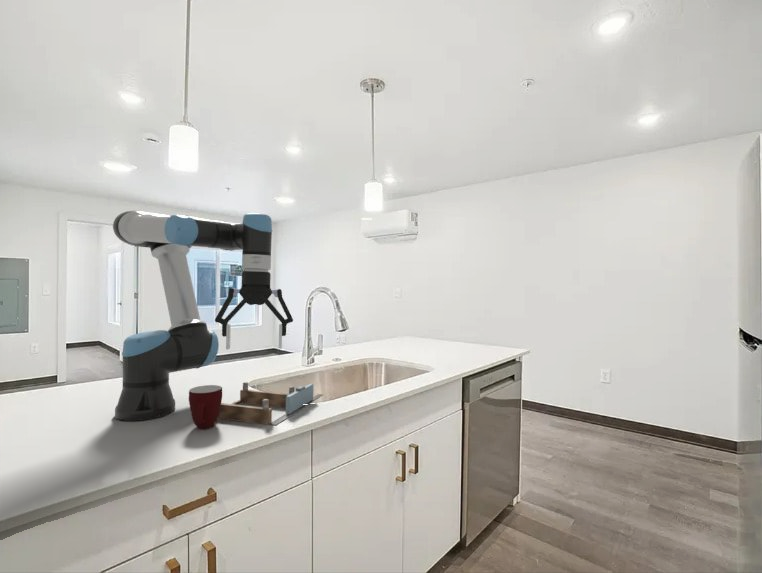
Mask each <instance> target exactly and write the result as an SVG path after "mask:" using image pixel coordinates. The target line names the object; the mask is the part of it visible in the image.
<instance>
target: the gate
mask: <svg viewBox="0 0 762 573" xmlns="http://www.w3.org/2000/svg"><path fill="white" fill-rule="evenodd" d="M313 397H314V383H309V384H307V385H299V386H297V387H295V390H294V392H293V393H291V394H290V395H288V396H286V408H285V414H290V413H292V412H294V411H295V410H297V409H298V408H300V407H302V406H303V404H306V403H308V402H310V401H311V400H313Z"/></svg>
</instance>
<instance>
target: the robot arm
mask: <svg viewBox="0 0 762 573" xmlns="http://www.w3.org/2000/svg"><path fill="white" fill-rule="evenodd" d="M242 217H243V218H242V222H240V223H239V222H238V223H233V222H226V221H221V220H214V219H213V220H212V219H205V218H199V217H195V216H189V215H184V214H180V215H179V214H172V215H169V214H161V213H155V212H148V211H143V210H128V211H127V210H126V211H124V212H121V213H120V214H118V215H117V216H116V217H115V219H114V220H113V222H112V223H113V224H112V228H113V229H112V230H113V232H114V234H115V236H116V238H117V239H119V240H120V241H121V242H123V243H125V244H128V245H130V246H132V247H133V246H134V247H138V248H139V247H140V248H141V247H142V248H148V249H150V252H151V253H150V254H151V256H152V257H153V258H155V259H157V262H158V266H159V271H160V275H161V276H160V277H161V281H162V286H163V290H164V296H165V300H166V305H167V312H168V315H169V319H170V323H171V324H170V325H171V326H170V327H169V329H167V330H166V329H165V330H164V329H163V330H161V329H160V330H150V331H143V332H139V333H134V334H131V335H129V336H128V337H126V338H125V339H124V341H123V345H122V346H123V347H122V352H121V356H122V387H121V388H122V389H121V393H120V396H119V398H118V401H117V405H116V406H115V409H114V418H115V419H116V420H119V421H123V422H125V421H126V422H137V421H138V422H139V421H144V420H145V421H146V420H152V419H157V418H160V417H163V416H166V415H169V414H171V413H173V412H175V410H176V400H175V398H174V396H173V393H172V389H171V386H170V373H177V372H182V371H186V370H187V371H188V370H193V369H200V368H203V367H208V366H209V365H212V364H213V363H214V361H215V359H217V355H218V353H219V346H220V344H219V338H218V335H217V333H216V332H215V331H213V330H210V329H208V326H207V322H206V321H203V320H201V316H200V312H199V308H198V303H197V298H196V296H195V294H196V293H195V290H194V285H193V281H192V277H191V271H190V267H189V264H188V258H187V255H188V254H189V253H190V250H191V248H192V247H201V248H210V249H211V248H212V249H220V250H223V251H230V252H233V251H237V250H238V251H239V250H240V251H241V250H242V253H241V254H242V256H241V258H242V259H241V269H242V270H243V271H242V272H241V288H240V289H239V288H234V287H231V288H229V289H228V294H227V296H226V299H225V301H224V303H223V305H222V306H221V308H220V310H219V311H218V313H217V315H216V317H215V319H214V322H215V323H219V324H221V336H222V337H225V342H226V343H225V350H230V349H231V326H232V325H231V323H229V322H231V320H232V318H233V317H235V316H236V315H237V313H238V312H239V311H240V310H241V309H242V308H243V307H244V306H245V305H246V304H247V305H249V306H253V305H257V306H262V305H266V306H267V308H268V309H269V310H270V311H271V313H272V314H274V316H276V318H277V319H278V320H279V322H280V323H278V324H279V325H278V349H282V347H283V346H282V345H283V344H282V343H283V339H282V338H283V337H286V335H287V325H288V324H290V323H292V322H294V319H293V317H292V315H291V313H290V310H289V309H288V305H287V304H286V302H285V300H284V298H283V293H282V292H283V291H282V289H281V288H278V289H272V288H271V279H272V278H271V277H272V275H271V273H270V272H269V271H271V269H272V268H271V267H272V256H271V255H272V238H273V236H272V235H273V234H272V233H273V226H272V225H273V224H272V223H273V222H272V217H271V216H270V215H268V214H265V213H257V212H256V213H255V212H251V213H250V212H249V213H245V214H244V215H243V216H242ZM238 294H239V295H240V296H241V298H242V300H241V301H239V303H237V305H236V306H235V307H234V309H233V310H231V312H230V313H228V315H227V316H226V317H225V318H223V317H224V315H225V313H226V311H227V310H228V308H229V306H230V304H231V302H232V301H233V298H234V297H236V296H237V295H238ZM271 295H274V297H275V298H278V302H279V303H280V306H281V308H282V310H283V312H284V313H285V316H286V318H285V317H284V316H283V315H282V314H281V313H280V311H278V309H277V308H276V306H274V304H273V303H272V302H271V301H270V300H269V299H270V297H271Z"/></svg>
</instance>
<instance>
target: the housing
mask: <svg viewBox="0 0 762 573" xmlns="http://www.w3.org/2000/svg"><path fill="white" fill-rule="evenodd" d="M293 392H295V386H291V385H290V386H288V393H283V392H272V391H265V390H252V389H249V381H243V382H242V389H240V391H239V400H237V401H234V402H232V403H226V402H225V403H224V402H223V403H222V402H221V407H220V412H219V416H218V418H217V419H220V420H222V419H223V420H228V421H237V422H243V423H253V424H262V425H270V426H274V427H275V426H277V425H279V424H280V423H282V422H284V421H285V420H287V419H288V418H289V417H292V416H293V415H294V413H295V414H296V413H297V412H299V411H301V410H303V408H306V407H307V406H308V405H303V406H302V407H300V408H298V409H297V410H295V411H294V412H292V413H290V414H286V413H285V414H283V415H282V416H279V417H278V418H276V419H275V420H273V421H272V419H273V417H272V415H273V412H272V411H273V410H272V409H273V408H270V407H274V408H285V409H286V396H288V395H290V394H291V393H293ZM323 396H324V394H320V393H318V394H315V395H313V400H311V401H310V402H308V403H306V404H309V405H310V404H312V403H313V402H315V401H317V400H318V399H320V398H321V397H323ZM242 404H249V405H242ZM253 405H257V406H253ZM260 406H262V407H260ZM305 406H306V407H305Z"/></svg>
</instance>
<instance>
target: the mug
mask: <svg viewBox="0 0 762 573" xmlns="http://www.w3.org/2000/svg"><path fill="white" fill-rule="evenodd" d="M222 400H223V387H222V386H221V385H216V384H214V385H213V384H209V385H200V386H196V387H192V388H189V391H188V402H189V403H188V404H189V409H190V415H191V418H192V421H193V423H194V424H195V426H196V428H197V429H198V430H207V429H211V428H213V427H214V426H215V425H216V422H217V421H218V419H219V418H218V416H219V412H220V407H221V403H222Z"/></svg>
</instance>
